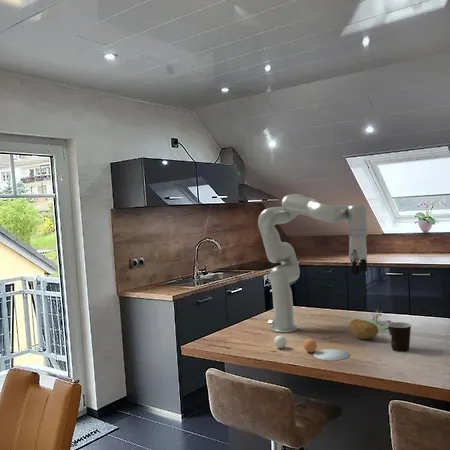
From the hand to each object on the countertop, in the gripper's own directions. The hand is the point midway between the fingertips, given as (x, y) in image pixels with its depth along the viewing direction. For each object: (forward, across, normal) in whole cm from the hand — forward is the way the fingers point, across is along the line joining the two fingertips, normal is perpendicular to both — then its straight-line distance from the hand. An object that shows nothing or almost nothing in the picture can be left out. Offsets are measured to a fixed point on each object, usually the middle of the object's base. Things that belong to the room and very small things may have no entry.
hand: (359, 272), depth 206 cm
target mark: (+30, +24, -5) cm, 38 cm away
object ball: (+27, +24, -14) cm, 39 cm away
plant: (+31, -29, -6) cm, 43 cm away
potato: (+30, -3, 0) cm, 30 cm away
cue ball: (+27, +24, -28) cm, 45 cm away
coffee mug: (+30, +5, +18) cm, 35 cm away
